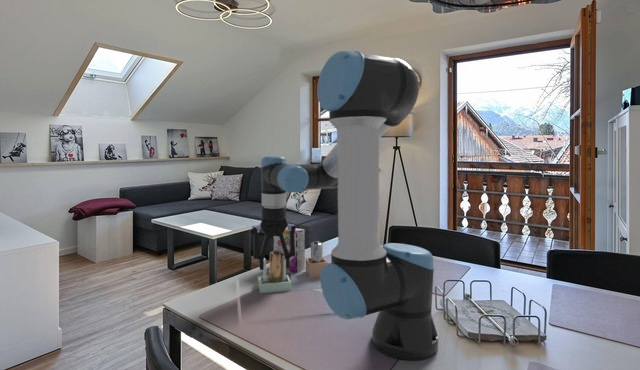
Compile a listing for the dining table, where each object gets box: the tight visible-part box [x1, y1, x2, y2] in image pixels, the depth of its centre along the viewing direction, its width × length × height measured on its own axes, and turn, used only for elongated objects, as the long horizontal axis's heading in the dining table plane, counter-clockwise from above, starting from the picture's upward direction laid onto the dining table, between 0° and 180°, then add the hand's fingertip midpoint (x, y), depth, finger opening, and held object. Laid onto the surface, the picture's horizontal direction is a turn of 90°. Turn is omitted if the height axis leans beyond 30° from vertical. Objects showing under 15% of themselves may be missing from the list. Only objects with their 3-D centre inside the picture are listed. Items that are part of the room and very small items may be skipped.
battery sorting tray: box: [256, 256, 329, 295], centre depth 124 cm, size 16×24×6 cm, turn 104°
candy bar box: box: [272, 227, 306, 273], centre depth 136 cm, size 11×5×16 cm, turn 56°
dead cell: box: [310, 240, 323, 263], centre depth 130 cm, size 4×4×12 cm
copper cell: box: [268, 250, 283, 283], centre depth 118 cm, size 4×4×12 cm
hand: (274, 278), depth 118 cm, fingers open, 5 cm apart
